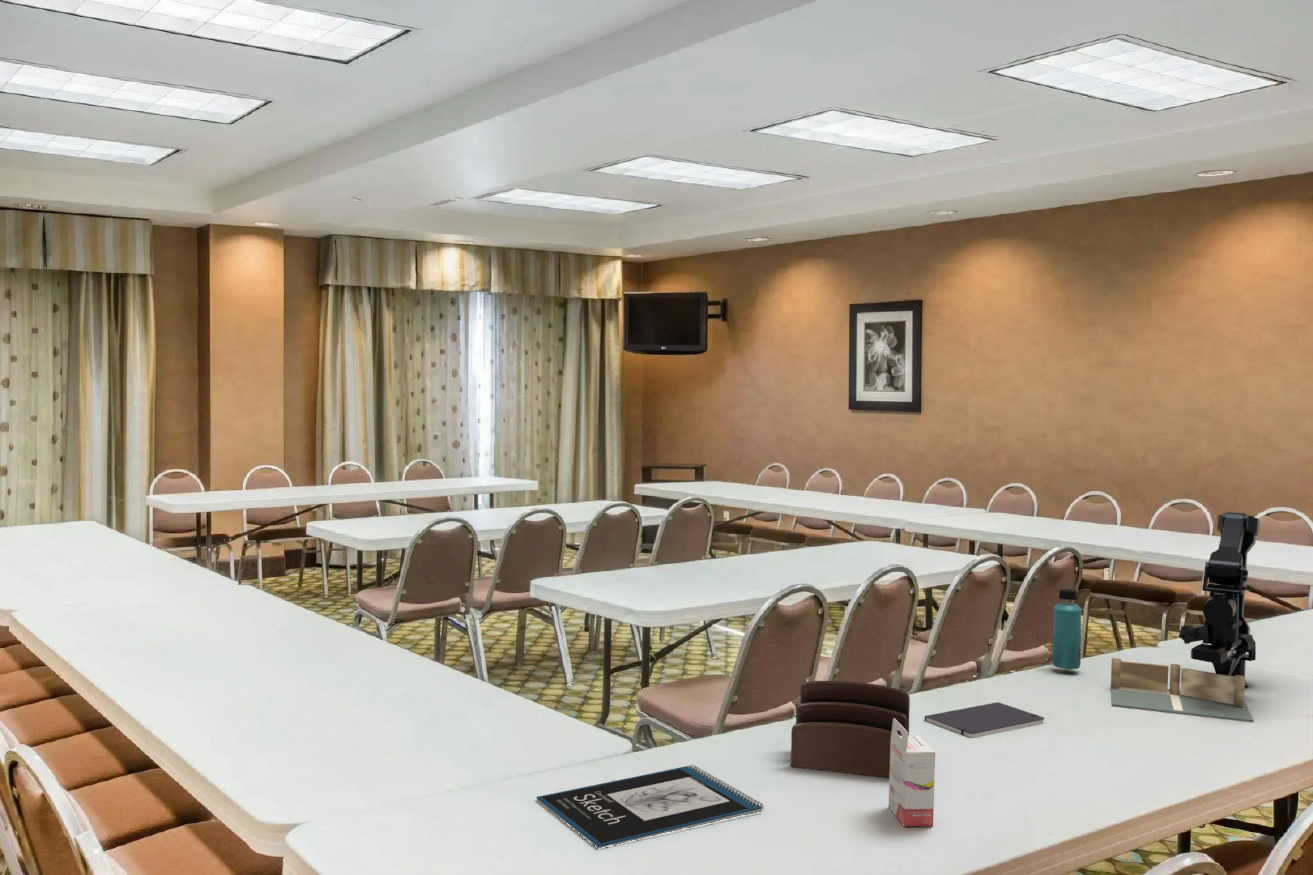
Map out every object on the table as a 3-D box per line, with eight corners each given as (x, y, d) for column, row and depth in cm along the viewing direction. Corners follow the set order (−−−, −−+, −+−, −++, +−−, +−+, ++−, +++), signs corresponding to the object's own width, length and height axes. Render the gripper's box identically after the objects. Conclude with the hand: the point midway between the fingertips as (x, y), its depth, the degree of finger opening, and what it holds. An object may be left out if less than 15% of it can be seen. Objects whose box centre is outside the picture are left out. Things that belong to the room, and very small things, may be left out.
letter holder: (799, 750, 205) (801, 675, 205) (908, 763, 200) (910, 685, 199) (789, 768, 196) (791, 689, 195) (904, 781, 190) (906, 700, 190)
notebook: (997, 709, 236) (924, 723, 225) (998, 701, 236) (924, 715, 225) (1046, 725, 225) (971, 741, 214) (1046, 718, 225) (971, 733, 214)
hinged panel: (1179, 694, 244) (1180, 667, 244) (1182, 693, 246) (1183, 665, 246) (1242, 706, 236) (1243, 678, 236) (1244, 704, 237) (1246, 676, 237)
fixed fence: (1110, 688, 252) (1111, 657, 252) (1178, 695, 247) (1180, 664, 246) (1110, 690, 250) (1111, 659, 250) (1179, 697, 245) (1180, 666, 245)
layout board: (1110, 684, 255) (1111, 682, 255) (1242, 698, 245) (1242, 696, 245) (1111, 706, 238) (1111, 703, 238) (1253, 722, 228) (1253, 719, 228)
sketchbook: (536, 805, 178) (536, 792, 178) (693, 774, 194) (693, 762, 193) (598, 853, 160) (598, 839, 160) (766, 815, 175) (767, 802, 175)
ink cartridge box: (935, 827, 170) (937, 733, 169) (903, 828, 170) (906, 733, 169) (917, 806, 179) (919, 716, 178) (887, 806, 178) (889, 716, 177)
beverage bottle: (1082, 676, 262) (1085, 592, 261) (1053, 674, 263) (1056, 591, 262) (1077, 669, 268) (1080, 587, 267) (1049, 667, 270) (1051, 586, 269)
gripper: (1203, 603, 252) (1202, 670, 254) (1167, 616, 240) (1165, 687, 241) (1255, 610, 244) (1254, 680, 245) (1220, 625, 232) (1218, 698, 233)
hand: (1222, 686), depth 241 cm, fingers closed
